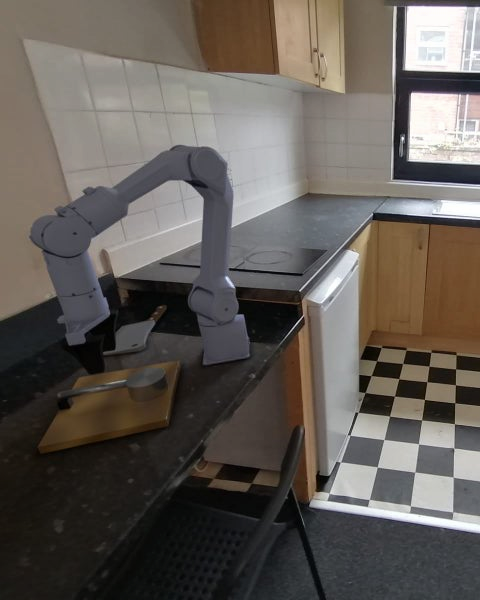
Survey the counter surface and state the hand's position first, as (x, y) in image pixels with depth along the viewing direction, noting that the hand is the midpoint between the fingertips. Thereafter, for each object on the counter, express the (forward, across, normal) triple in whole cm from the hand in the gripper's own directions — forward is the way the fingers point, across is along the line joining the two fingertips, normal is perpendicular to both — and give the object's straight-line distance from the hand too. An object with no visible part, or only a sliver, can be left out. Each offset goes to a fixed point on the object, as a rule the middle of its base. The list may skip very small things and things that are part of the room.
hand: (103, 361), depth 71 cm
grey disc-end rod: (+8, 0, 0) cm, 8 cm away
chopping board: (+9, 0, 0) cm, 9 cm away
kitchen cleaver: (+10, -32, -2) cm, 33 cm away
